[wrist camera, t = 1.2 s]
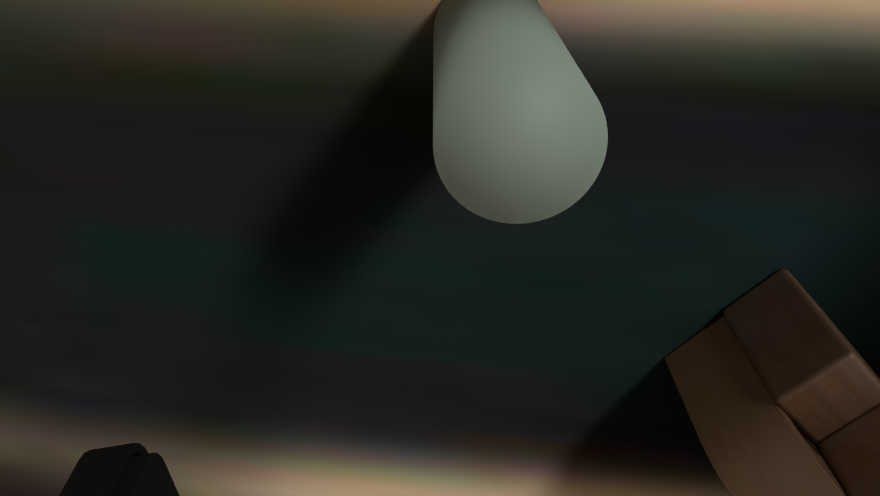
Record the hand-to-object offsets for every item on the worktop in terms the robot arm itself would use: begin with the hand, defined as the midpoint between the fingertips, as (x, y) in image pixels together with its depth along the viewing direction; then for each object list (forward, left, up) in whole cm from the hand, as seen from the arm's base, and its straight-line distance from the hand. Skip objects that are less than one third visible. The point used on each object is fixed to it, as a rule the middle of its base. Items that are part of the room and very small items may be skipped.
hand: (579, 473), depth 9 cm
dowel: (0, 0, -23) cm, 23 cm away
